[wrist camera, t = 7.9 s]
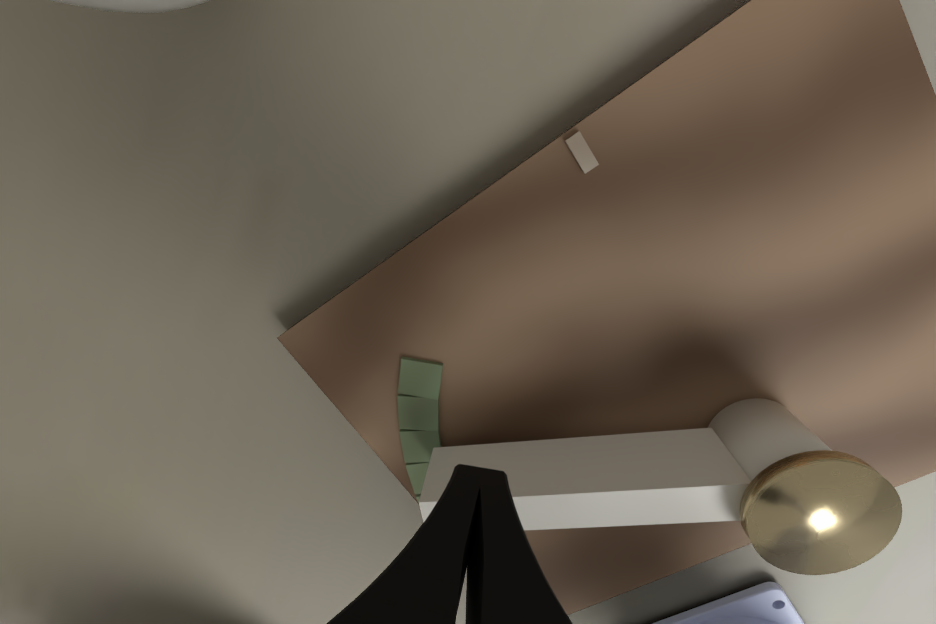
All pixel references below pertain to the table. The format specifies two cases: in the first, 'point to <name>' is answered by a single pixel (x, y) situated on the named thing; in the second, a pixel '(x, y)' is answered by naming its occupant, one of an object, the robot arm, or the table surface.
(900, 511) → the peg lever
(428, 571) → the robot arm
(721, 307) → the board
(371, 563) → the table surface
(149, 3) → the lidded jar
